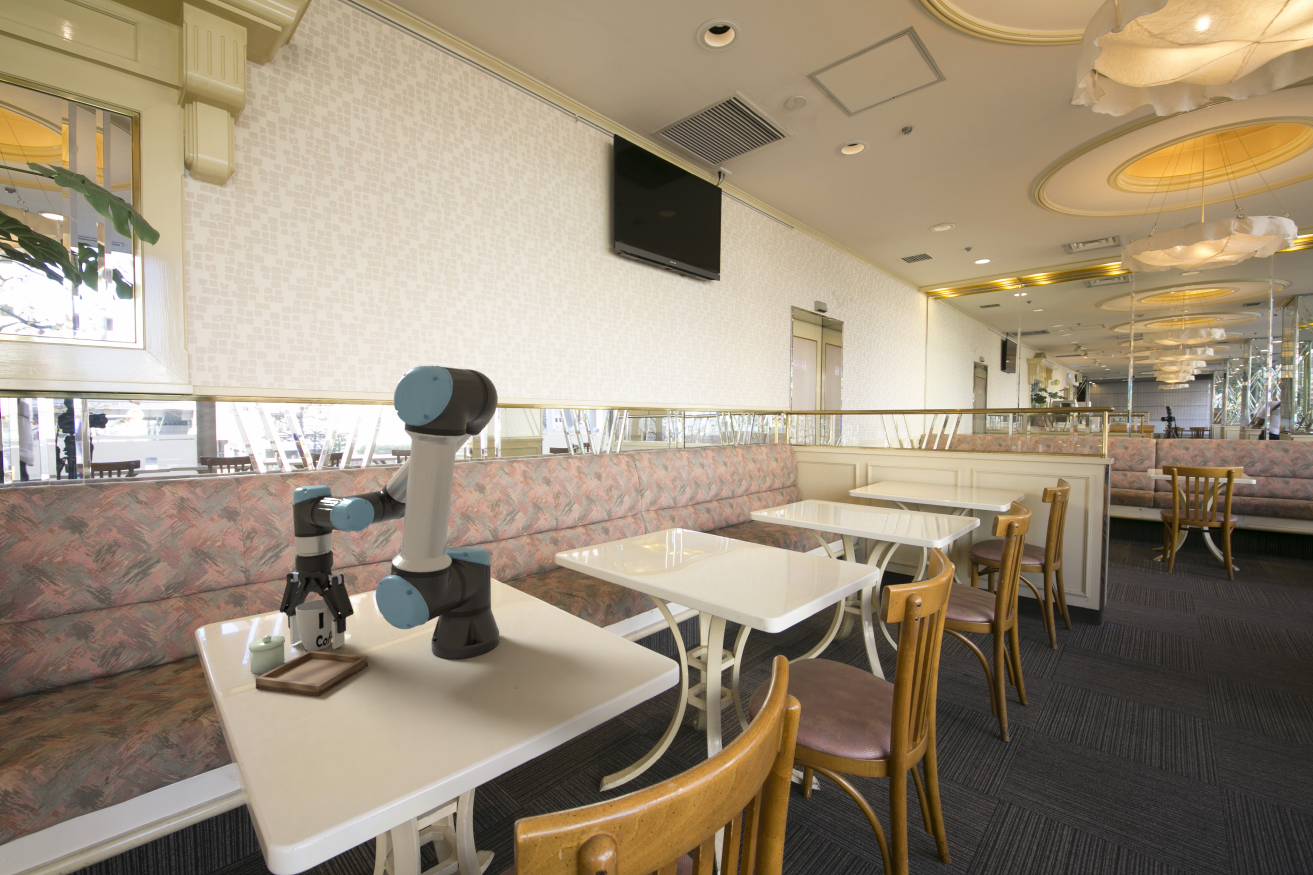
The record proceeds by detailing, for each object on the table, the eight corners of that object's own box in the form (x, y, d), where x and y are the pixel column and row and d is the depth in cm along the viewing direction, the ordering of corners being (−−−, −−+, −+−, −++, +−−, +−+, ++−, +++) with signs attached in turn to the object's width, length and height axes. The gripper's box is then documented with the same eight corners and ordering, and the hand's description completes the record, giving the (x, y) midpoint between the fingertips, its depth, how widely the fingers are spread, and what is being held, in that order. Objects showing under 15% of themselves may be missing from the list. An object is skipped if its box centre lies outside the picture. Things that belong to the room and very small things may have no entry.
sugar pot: (293, 661, 120) (291, 630, 120) (266, 675, 114) (265, 642, 114) (269, 659, 122) (268, 628, 121) (241, 672, 116) (240, 640, 115)
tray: (368, 665, 118) (367, 656, 118) (318, 696, 106) (318, 686, 105) (310, 659, 122) (310, 650, 121) (255, 687, 109) (255, 678, 109)
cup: (318, 655, 123) (316, 611, 123) (288, 652, 125) (286, 609, 125) (345, 640, 131) (344, 599, 131) (316, 637, 133) (315, 597, 133)
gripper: (369, 550, 128) (372, 641, 129) (287, 545, 133) (290, 633, 134) (344, 558, 121) (347, 655, 122) (258, 553, 126) (262, 645, 127)
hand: (317, 643), depth 128 cm, fingers open, 11 cm apart
